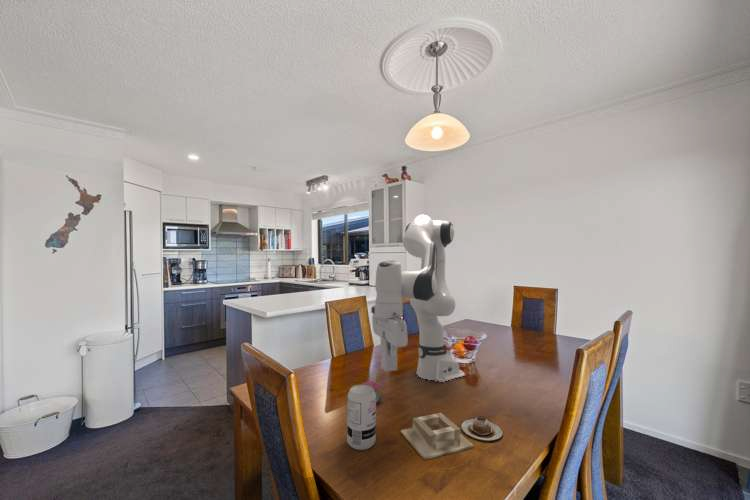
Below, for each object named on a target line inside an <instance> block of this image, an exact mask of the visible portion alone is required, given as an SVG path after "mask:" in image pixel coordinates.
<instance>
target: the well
mask: <svg viewBox="0 0 750 500" xmlns="http://www.w3.org/2000/svg"><path fill="white" fill-rule="evenodd" d="M400 433H401V435H403V437H404V438H405V439H406V441H407V442H408V443H409V445H411V446H412V447H413V449H414V450H415V451H416V452H417V454H418V455H419V456H420V457H421V459H422V460H423V461H426V460H429V459H435V458H437V457H441V456H445V455H449V454H453V453H457V452H462V451H465V450H470V449H473V448H474V447H475V446H474V444H473V443H472V442H470V440H468V439H467V438H466V437H464V436H463V434H462V433H461V428H460V427H458V426H457V424H456V423H454V422H453V421H451V420H450V419H449V418H448V417H446V415H444V414H443V413H442V412H437V413H433V414H427V415H423V416H418V417H413V418H412V427H409V428H405V429H400Z"/></svg>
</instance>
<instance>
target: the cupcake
mask: <svg viewBox="0 0 750 500" xmlns="http://www.w3.org/2000/svg"><path fill="white" fill-rule="evenodd" d="M377 375H378V370H375V373H374V380H366V381H365V382H363V383H362V384H361V385H369V386H371V387H373V388H374V391H375V393H376V403H378V402H379V399H380V396H381V394H382V393H383V391H384V386H383V384H382V383H380V382H379V380H378V381H377V377H378V376H377Z"/></svg>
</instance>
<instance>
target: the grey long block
mask: <svg viewBox="0 0 750 500" xmlns="http://www.w3.org/2000/svg"><path fill="white" fill-rule="evenodd" d="M384 337H385V332H384V331H383V337H382V336H381V337H380V368H381V369H383V371H385V372H391V371H393V372H394V371H398V350H397V351H396V357H391V356H389V350H390V349H391V346H390V343H389V342H387V340H386V339H385V338H384Z"/></svg>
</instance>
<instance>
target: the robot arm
mask: <svg viewBox="0 0 750 500" xmlns="http://www.w3.org/2000/svg"><path fill="white" fill-rule="evenodd" d="M454 237H455V229H454V225H453V223H452V222H451V221H448V220H434V219H432V218H431V217H430V216H428V215H426V214H419V215H417V216H415V217H414V219H412V220H411V221H410V222H409V223H408V224H407V225H406V226H405V230H404V235H403V240H402V244H403V245H402V246H403V247H404V250H406V252H407V253H408V254H409V255H411V256H412V257H416V258H419V259H421V263H420V269H419V270H403V268H402V264H401V262H400V261H398V260H385V261H381V262H379V263H378V264H377V267H376V272H375V282H374V283H375V284H374V285H375V291H376V298H375V302H374V303H375V304H374V305H373V306H371V308H370V311H371V312H370V313H371V314H372V317H371V318H372V320H371V321H372V331H373V334H374V335H376V336H378V337H380V338H381V336H382V337H383V331H384V332H385V337H384V338H385V339H386V340H387V342H389V343H390V346H391V349H390V350H389V356H391V357H396V351H397V352H398V348H403V347H407V346H408V343H409V341H408V328H407V323H406V321H405V320H404V318H403V314H404V311H403V309H404V307H403V305H404V304H403V303H404V302H403V299H409V303H410V306H411V307H412V309H413V311H414V313H415V315H416V318H417V322H418V327H419V331H418V332H419V343H418V361H417V362H418V363H417V367H416V373H415V375H416V374H417V375H418V376H419V377H421V378H420V379H422V378H423V379H422V380H425V379H428V380H427V381H430V380H435V381H434V382H437V381H439V382H438V383H441V382H443V383H446V382H445V381H447V382H449V381H448V380H450V381H452V380H451V379H454V378H458V377H461V378H463V377H462V376H466V374H465V372H464V371H463V370H461V369H460V365H459V361H458V359H456V358H455V357H453V356H452V355H451V354H450V353H449V352H448V351H451V350H452V347H451V346H450V345H446V344H444V342H445V341H444V339H445V336H444V335H445V333H444V332H445V331H444V326H443V324H441V322H440V320H439V318H438V317H448V316H450V315H451V316H452V314H453V313H454V311H455V308H456V300H455V298H454V297H453V296H452V294H451V293H450V291H449V289H448V285H447V281H446V249H445V248H447V246H448V245H450V244H451V243H452V241H454ZM417 375H416V376H417ZM418 376H417V377H418ZM419 377H418V378H419ZM458 379H459V378H458ZM454 380H455V379H454Z"/></svg>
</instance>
